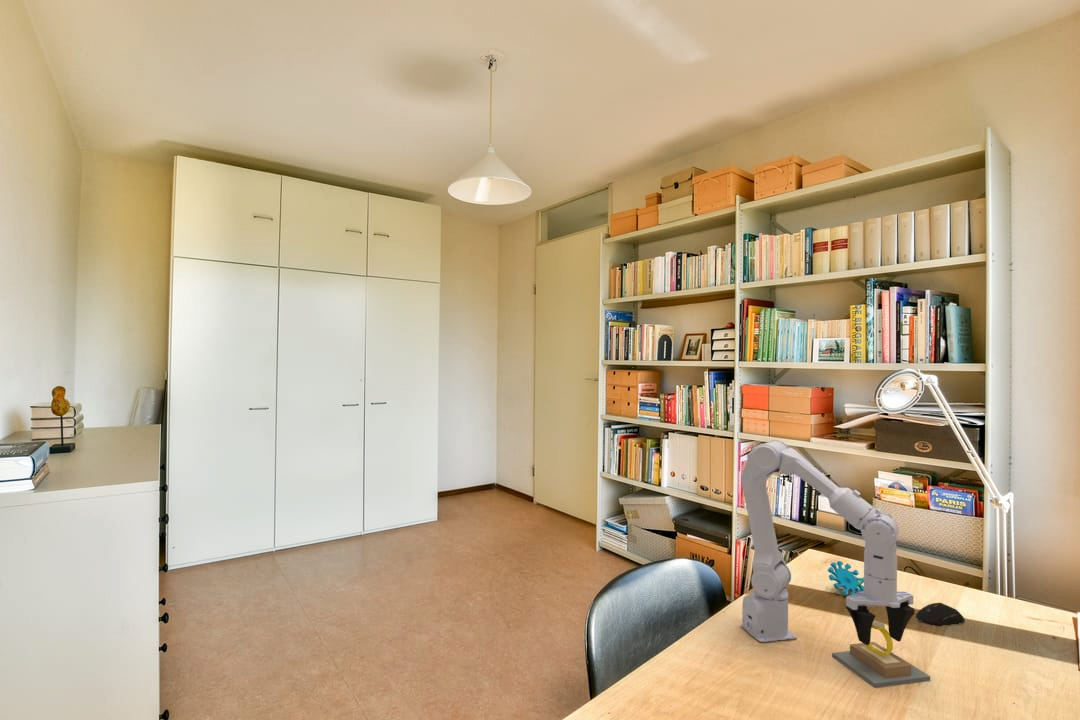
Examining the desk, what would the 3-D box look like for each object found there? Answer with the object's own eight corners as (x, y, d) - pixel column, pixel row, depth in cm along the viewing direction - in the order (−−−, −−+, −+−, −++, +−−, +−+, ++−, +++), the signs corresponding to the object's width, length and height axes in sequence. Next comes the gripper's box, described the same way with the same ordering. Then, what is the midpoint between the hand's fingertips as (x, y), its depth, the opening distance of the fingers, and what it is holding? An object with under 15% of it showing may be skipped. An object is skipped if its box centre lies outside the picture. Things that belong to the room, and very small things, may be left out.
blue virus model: (838, 594, 139) (825, 557, 147) (826, 602, 143) (813, 567, 151) (876, 598, 141) (860, 562, 148) (863, 606, 145) (848, 571, 152)
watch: (859, 647, 111) (857, 618, 111) (868, 645, 112) (867, 616, 112) (886, 660, 105) (884, 629, 106) (896, 658, 106) (894, 627, 107)
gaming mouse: (900, 618, 130) (900, 602, 130) (944, 612, 134) (944, 596, 134) (924, 631, 124) (925, 614, 124) (971, 623, 128) (971, 607, 128)
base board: (874, 687, 101) (874, 672, 101) (832, 656, 112) (832, 642, 112) (930, 680, 104) (930, 665, 104) (883, 650, 115) (883, 637, 115)
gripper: (866, 584, 103) (865, 654, 103) (927, 579, 106) (926, 647, 106) (838, 570, 110) (838, 636, 109) (896, 566, 113) (896, 630, 112)
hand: (879, 640), depth 108 cm, fingers open, 7 cm apart
